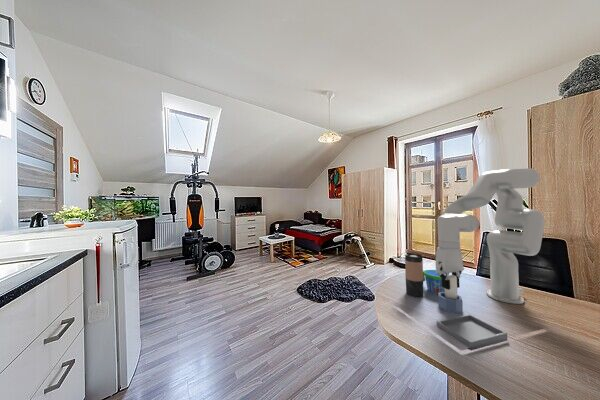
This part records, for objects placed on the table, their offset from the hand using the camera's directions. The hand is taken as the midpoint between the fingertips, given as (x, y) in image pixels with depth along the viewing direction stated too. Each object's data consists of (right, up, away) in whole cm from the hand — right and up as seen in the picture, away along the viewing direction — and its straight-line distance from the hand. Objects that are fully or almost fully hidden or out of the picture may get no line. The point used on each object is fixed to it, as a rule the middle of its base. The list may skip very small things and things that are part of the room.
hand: (450, 286), depth 89 cm
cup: (0, -10, 0) cm, 10 cm away
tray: (-5, -10, -16) cm, 19 cm away
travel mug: (-8, -10, +13) cm, 19 cm away
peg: (0, -6, 0) cm, 6 cm away
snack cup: (+4, -10, +16) cm, 19 cm away
